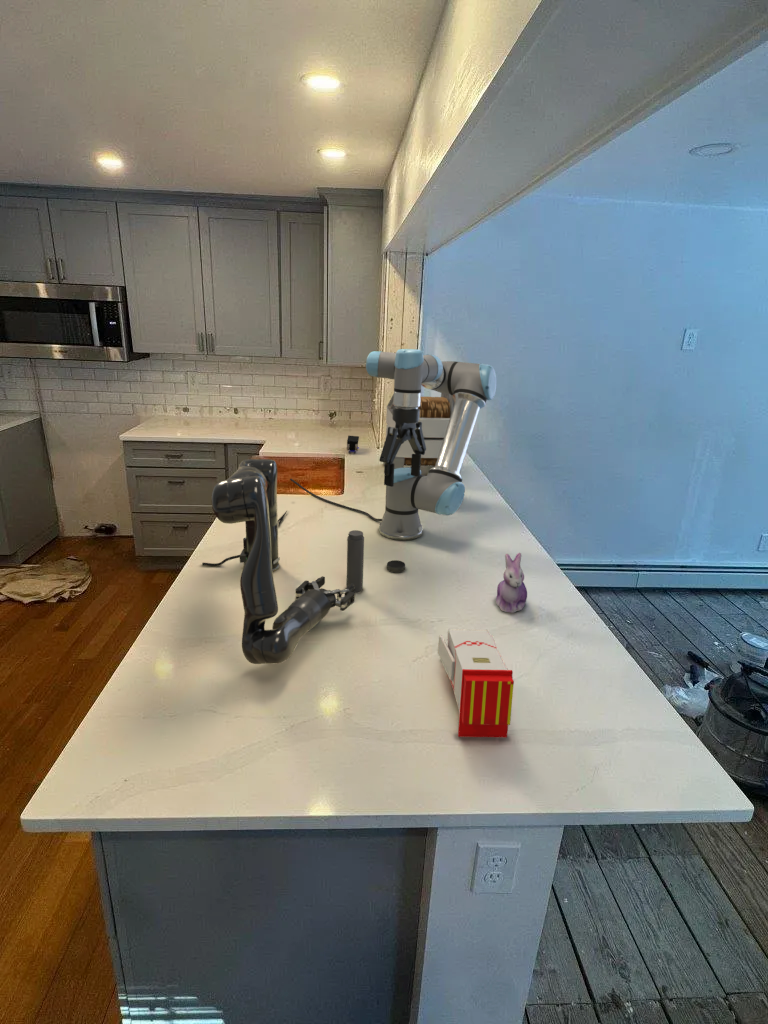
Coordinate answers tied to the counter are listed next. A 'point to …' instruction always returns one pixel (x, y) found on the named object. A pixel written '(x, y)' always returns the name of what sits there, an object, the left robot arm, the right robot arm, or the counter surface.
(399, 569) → the lid
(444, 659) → the toy
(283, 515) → the feather
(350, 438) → the figurine character
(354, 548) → the dark grey cylinder
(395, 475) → the right robot arm
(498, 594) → the figurine
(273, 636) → the left robot arm
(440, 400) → the white wooden crate
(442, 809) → the counter surface
